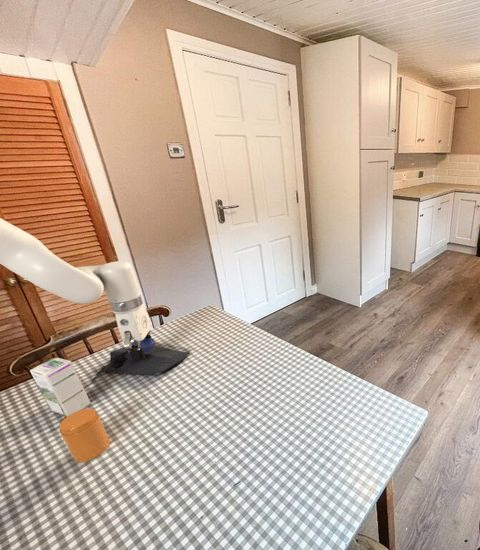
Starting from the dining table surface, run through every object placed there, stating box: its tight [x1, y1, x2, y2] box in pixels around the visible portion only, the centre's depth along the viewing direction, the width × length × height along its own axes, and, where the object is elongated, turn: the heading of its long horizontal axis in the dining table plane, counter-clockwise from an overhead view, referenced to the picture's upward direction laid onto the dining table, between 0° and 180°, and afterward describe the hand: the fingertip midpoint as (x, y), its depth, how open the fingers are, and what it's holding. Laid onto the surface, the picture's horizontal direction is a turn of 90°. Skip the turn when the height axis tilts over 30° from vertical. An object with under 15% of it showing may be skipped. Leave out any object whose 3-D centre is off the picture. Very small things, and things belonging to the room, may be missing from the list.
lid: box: [128, 337, 157, 354], centre depth 95 cm, size 7×7×2 cm
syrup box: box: [29, 356, 91, 419], centre depth 78 cm, size 6×6×14 cm
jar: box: [58, 408, 111, 463], centre depth 68 cm, size 6×6×9 cm
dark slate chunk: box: [101, 344, 190, 376], centre depth 98 cm, size 15×22×5 cm
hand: (143, 352), depth 96 cm, fingers closed on lid, 6 cm apart
